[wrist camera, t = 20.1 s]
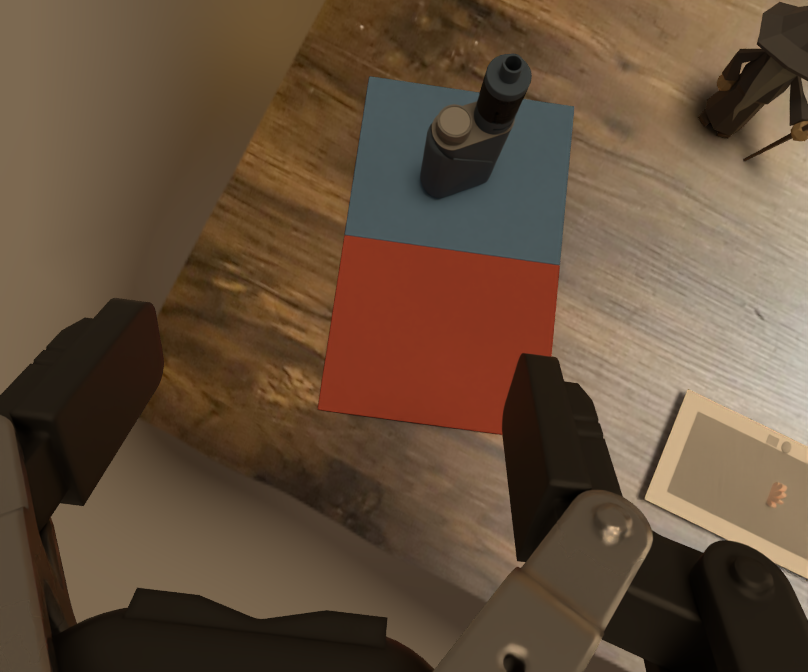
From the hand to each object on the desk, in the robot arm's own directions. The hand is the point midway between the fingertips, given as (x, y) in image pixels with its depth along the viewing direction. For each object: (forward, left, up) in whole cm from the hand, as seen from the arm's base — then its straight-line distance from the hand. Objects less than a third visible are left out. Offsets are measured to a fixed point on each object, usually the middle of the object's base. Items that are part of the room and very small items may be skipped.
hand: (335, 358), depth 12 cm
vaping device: (+4, +16, -25) cm, 30 cm away
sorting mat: (+5, +11, -25) cm, 28 cm away
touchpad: (+27, -2, -25) cm, 37 cm away
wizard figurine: (+24, +24, -25) cm, 42 cm away
